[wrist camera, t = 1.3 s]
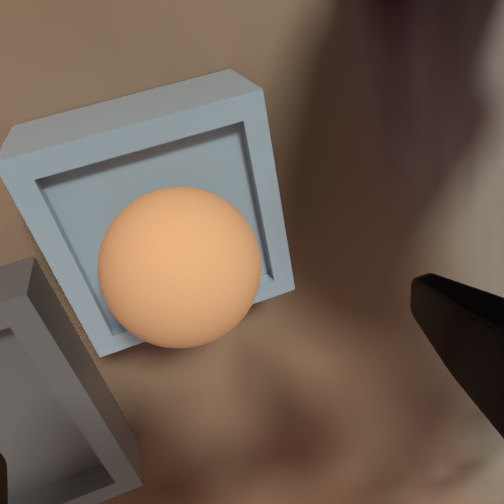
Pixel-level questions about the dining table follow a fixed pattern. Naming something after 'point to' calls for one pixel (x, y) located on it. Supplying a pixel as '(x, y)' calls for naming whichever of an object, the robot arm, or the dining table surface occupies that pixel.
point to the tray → (56, 403)
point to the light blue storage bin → (144, 179)
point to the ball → (179, 267)
